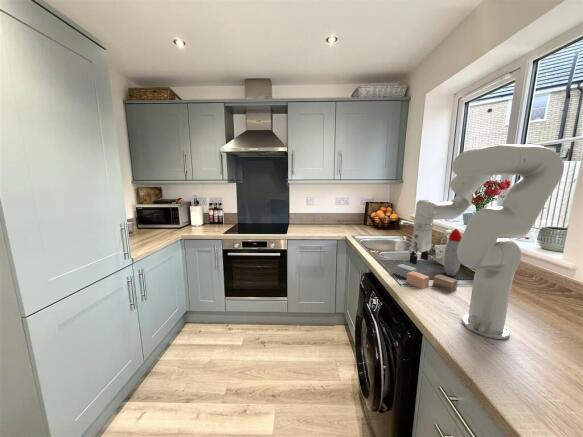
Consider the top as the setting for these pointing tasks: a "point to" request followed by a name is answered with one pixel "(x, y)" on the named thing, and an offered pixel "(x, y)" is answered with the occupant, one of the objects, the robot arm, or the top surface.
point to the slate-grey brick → (404, 270)
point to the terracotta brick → (418, 279)
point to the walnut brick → (445, 283)
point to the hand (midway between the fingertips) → (418, 261)
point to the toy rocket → (452, 253)
